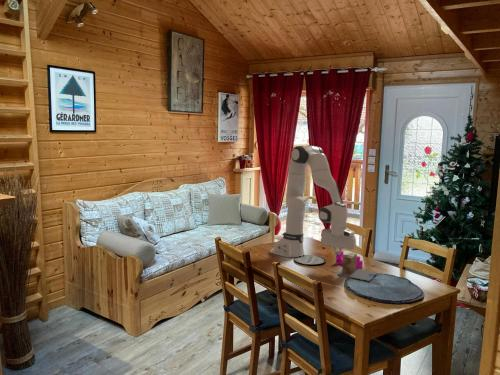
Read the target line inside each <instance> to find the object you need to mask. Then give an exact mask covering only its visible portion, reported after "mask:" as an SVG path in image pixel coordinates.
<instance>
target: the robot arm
mask: <svg viewBox="0 0 500 375" xmlns="http://www.w3.org/2000/svg"><path fill="white" fill-rule="evenodd" d="M307 165H309V167H310V172H311V173H310V174H311V178H312V182H313V183H314V184H315V185H316V186H318V187H320V188H323V189H325V190H326V191H327V192H328V193H329V195H330V198H331V201H332V203H331V204H329V205H326V206H322V207H320V209H319V210H318V213H317V214H318V218H319V220H320V222H322V223H323V224H324V223H325V224H328V223H330V229H327V228H324V229H322V230H321V237H320V244H321V245H322V246H323V245H324V246H329V247H332V249H333V251H334V255H336V254H337V255H340V254H341V251H343V249H346V250H351V251H353V250H355V249H356V247H357V240H356V239H357V238H356V236H355V234H356V232H355V231H354V230H352V229H350V228H348V226H347V225H348V224H347V220H348V207H347V205H346V204H345V203H344V202H343V199H342V195H341V191H340V189H339V186H338V183H337V182H336V180H335V179H334V177H333V176H332V173H331V169H330V164H329V162H328V159H327V156H326V154H324V150H323V149H322V148H321V147H320V146H317V145H310V144H307V145H297V146H294V147H292V150H291V152H290V160H289V164H288V172H287V173H288V174H287V175H288V176H287V187H286V195H285V204H286V207H287V210H286V211H287V212H286V213H287V214H286V220H285V232H283V233H281V235H282V238H280V239H279V240H277V241H276V242H274V244H273V248H271V249H270V254H272V255H273V254H274V255H277V256H281V257H284V258H299V256H301V257H304V256H306V255H305V249H304V220H305V219H304V218H305V214H306V201H305V199H304V193H305V187H306V175H307V174H306V173H307ZM337 248H338V249H339V250H337ZM303 255H304V256H303Z"/></svg>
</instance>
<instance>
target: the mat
mask: <svg viewBox="0 0 500 375" xmlns="http://www.w3.org/2000/svg"><path fill="white" fill-rule="evenodd" d="M368 274H377V275H378V274H379V272H376V271H370V270H365V269H362V268H360V269H356V271H354V272H353V273H352V274H346V273H342V270H341V271H339V272H338V273H337V274H336V275H337V276H339V277H344V278H347V279H348V278H349V279H352V278H357V279H362V280H368V281H370V280H371V279H370V278H369V275H368ZM357 279H356V280H357ZM362 280H361V281H362ZM371 281H372V280H371ZM371 281H370V282H371Z"/></svg>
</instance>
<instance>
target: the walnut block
mask: <svg viewBox="0 0 500 375" xmlns="http://www.w3.org/2000/svg"><path fill="white" fill-rule="evenodd" d="M343 254H344V255H343V263H342V265H341V266H342V268H341V271H342V273H346V274H352V273H353V272H354V271H356V262H357V256H358V253H357V252H354V251H353V252H352V251H347V252H346V253H343Z"/></svg>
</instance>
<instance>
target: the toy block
mask: <svg viewBox="0 0 500 375" xmlns="http://www.w3.org/2000/svg"><path fill="white" fill-rule="evenodd" d="M344 254H345V253H344V251H343V250H342V251H341V254H340V255H337V254H335V264H337V265H340V266H342V263H343V255H344ZM363 262H364V261H363V260H361V256H360V255H357V262H356V269H363Z"/></svg>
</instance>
